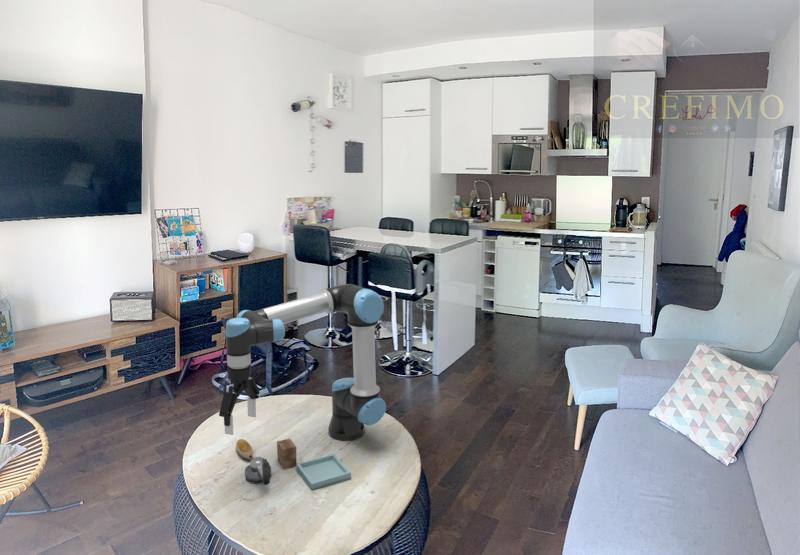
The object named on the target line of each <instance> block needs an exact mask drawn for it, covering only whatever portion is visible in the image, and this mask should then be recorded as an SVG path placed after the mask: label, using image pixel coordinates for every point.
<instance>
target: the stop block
mask: <svg viewBox="0 0 800 555" xmlns="http://www.w3.org/2000/svg"><path fill="white" fill-rule="evenodd" d="M276 449H277V450H276V454H277V462H278V464H279V465H280V466H281V468H282V469H283V470H288V469H292V468H294V467H296V464H297V446H296V444H295V443H294V442H293V441H292V439H291V438H290V437H289V438H286V439H282V440H279V441H278V440H277V441H276Z"/></svg>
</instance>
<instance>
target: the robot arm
mask: <svg viewBox="0 0 800 555" xmlns="http://www.w3.org/2000/svg"><path fill="white" fill-rule="evenodd" d="M384 309H385V304H384V300H383V298H382V296H381V295H380V294H379V293H377V292H376V291H374V290H373V289H370V288H366V287H362V286H359V285H356V284H352V283H347V284H340V285H335V286H331V287H328V288H327V287H326V288H324V289H322V290H321V291H320V292H319V293H316V294H312V295H308V296H304V297H302V298H301V297H300V298H297V299H294V300H289V301H287V302H283V303H280V304H279V303H278V304H277V305H271V306H268V307H265V308H260V309H257V310H249V309H244V310H241V311H239V312H238V314H237V315H236V317H233V318H230V319H228V320H227V321H226V323H225V324H226V325H225V343H226V365H227V368H226V369H227V371H226V372H227V374H226V375H227V378H228V379H229V380H230V383H229V385H228V384H226V385H224V388H223V390H224V391H223V396H222V399H221V405H220V409H219V413H218V416H219V417H223V424H224V425H223V426H224V434H225V435H230V436H233V435H234V416H233V415H232V414H233V411H234V408H235V405H236V402H237V399H238V398H239V397H240V395H241V394H242V393H243V392H245V394H246V395H247V396H248V398H247V417H250V418H256V417H257V416H256V415H257V411H256V410H257V409H256V408H257V407H256V405H257V403H256V400H257V399H259V395H260V389H259V387H258V385H257V382H256V379H255V374H254V372H252V366H251V364H252V359H251V356H252V355H251V347H253V346H259V345H265V344H270V343H276V342H279V341H282V340H283V339H284V338H285V336H286V327H285V325H286V324H289V323H292V322H295V321H299V320H302V319H305V318H310V317H313V316H316V315H320V314H323V313H327V314H333V313H344V314H346V316H347V325H348V327H350V328H351V332H352V363H353V364H352V365H353V367H352V370H353V371H352V372H353V377H343V378H340V379H339V378H338V379H336V380H334V382H333V383H332V386H331V398H332V400H331V401H332V403H331V406H332V408H331V409H332V410H331V413H332V416H331V418H330V421H329V424H328V433H327V434H328V435H329V437H331V438H332V439H335V440H338V441H353V440H358V439H359V438H361V437H362V436H363V435H364V434H365V429H366V428H365V426H373V425H375V424H378V422H380V421H381V419H382V418H383V417H384V415H385V413H386V410H387V404H386V402H385V400H384V399H383V398H382V397H381V389H380V386H379V385H377V380H376V379H377V378H376V377H377V376H376V373H377V372H376V369H377V368H376V341H375V340H376V335H375V334H376V332H375V327H377V326H378V325H379V321H380V319H381V318H382V315H383V314H384V311H385V310H384Z"/></svg>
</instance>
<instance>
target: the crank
mask: <svg viewBox="0 0 800 555" xmlns="http://www.w3.org/2000/svg"><path fill="white" fill-rule="evenodd" d="M249 461H250V462H249V463H250V464H249V465H251V471H253V472H258V474H259V475H260V477H261V478H262V480H263V483H262V485H264V486H267V485H269V484H270V483H271V477H270V467H269V465H270V463H269V461H268V459H267V458H265V457H262V456H255V457H252V458H251V459H250V460H249Z"/></svg>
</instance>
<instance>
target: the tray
mask: <svg viewBox="0 0 800 555" xmlns="http://www.w3.org/2000/svg"><path fill="white" fill-rule="evenodd" d="M295 467H296V468H295V470H296V471H297V474H299V476H300V477H301V478H302V480H303V481H304V483H305V484H306V485H307V486H308V488H309V489H310V490H311V491H315V490H318V489H321V488H325V487H328V486H331V485H332V486H333V485H335V484H338V483H342V482H344V481H349V480H352V472H351V471H350V470H349V469H348V467H347V466H346V465H345V464H344V463H343V461H341V460H340V459H339V457H338V456H336V454H335V453H331V454H328V455H327V454H326V455H324V456H319V457H316V458H312V459H308V460H305V461H301V462H298V463H297V464H296V466H295Z"/></svg>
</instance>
